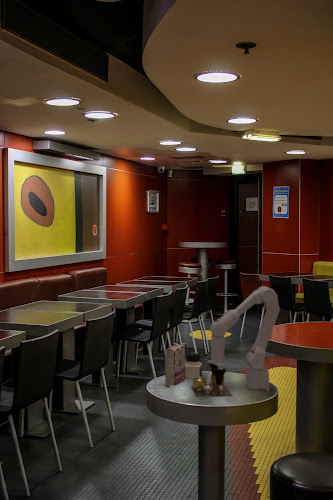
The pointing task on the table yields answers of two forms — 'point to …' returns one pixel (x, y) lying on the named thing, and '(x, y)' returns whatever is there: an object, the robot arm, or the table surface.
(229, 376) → the table surface
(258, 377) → the robot arm
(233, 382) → the table surface
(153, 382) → the table surface
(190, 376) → the medicine bottle
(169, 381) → the candy bar box
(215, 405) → the table surface
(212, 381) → the gear
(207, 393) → the plate
